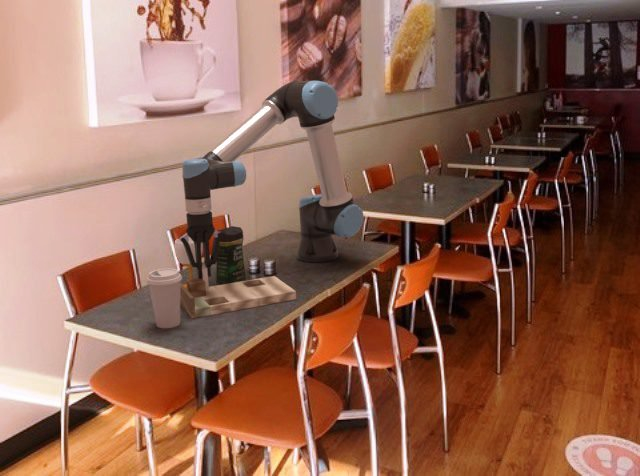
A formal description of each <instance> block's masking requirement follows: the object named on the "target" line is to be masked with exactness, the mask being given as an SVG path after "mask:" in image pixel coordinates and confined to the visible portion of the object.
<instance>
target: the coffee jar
mask: <svg viewBox="0 0 640 476" xmlns="http://www.w3.org/2000/svg"><path fill="white" fill-rule="evenodd" d="M216 231H220V232H221V233H222V234H223V235H222V237H221V239H220V242H219V248H218V254H217V261H216V267H215V271H216V273H215V278H216V280H215V281H216V284H217V285H223V284H229V283H235V282H241V281H247V275H246V268H245V260H244V249H243V244H244V232H243V231H244V230H243V228H241V227H240V226H235V225H234V226H232V225H231V226H228V227H225V228H222V229H218V230H216Z"/></svg>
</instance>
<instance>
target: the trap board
mask: <svg viewBox="0 0 640 476" xmlns="http://www.w3.org/2000/svg"><path fill="white" fill-rule="evenodd" d="M183 285H184V284H182V282H180V306H182V308H183V309H184V310H185V311H186V313H187V314H188V315H189V317H190V318H191V319H197V318H201V317H209V316H212V315H213V316H214V315H219V314H225V313H229V312H234V311H240V310H245V309H250V308H251V309H252V308H257V307H261V306H267V305H272V304H276V303H277V304H278V303H284V302H289V301H293V300H297V291H296V290H294V289H293V288H292V287H290V285H288V284H286V283H285V282H283V281H282V280H280V279H279V277H276V276H275V275H272V276H265V277H260V278H255V279H254V278H253V279H246V280H245V281H241V282H235V283H229V284H223V285H219V284H217V285H212V286H209V289H206V296H203V297H197V298H194V297H193V296H192V295H191V294H190V293H189V292H188V290H187V289H186V288H185V287H184V286H183Z"/></svg>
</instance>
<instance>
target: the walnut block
mask: <svg viewBox="0 0 640 476" xmlns="http://www.w3.org/2000/svg"><path fill="white" fill-rule="evenodd" d="M186 284H187V290H188V292H189V293H190V294H191V295H192V296H193V297H194V298H197V297H203V296H206V286H205V281H204V280H203V279H202V278H200V279H199V278H198V277H197V278H193V279H190V278H189V279H186Z"/></svg>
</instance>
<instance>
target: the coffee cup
mask: <svg viewBox="0 0 640 476" xmlns="http://www.w3.org/2000/svg"><path fill="white" fill-rule="evenodd" d="M182 279H183V277H182V274H181V273H180V272H179V270H178V269H177V268H169V267H168V268H158V269H155V270H154V269H153V270H152V271H149V273H148V276H147V278H146V284H148V288H149V293H150V299H151V304H152V309H153V313H154V314H153V315H154V320H155V324H156V328H159V329H172V328H176V327H178V326H180V325H181V304H180V283H181V281H182Z"/></svg>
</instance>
